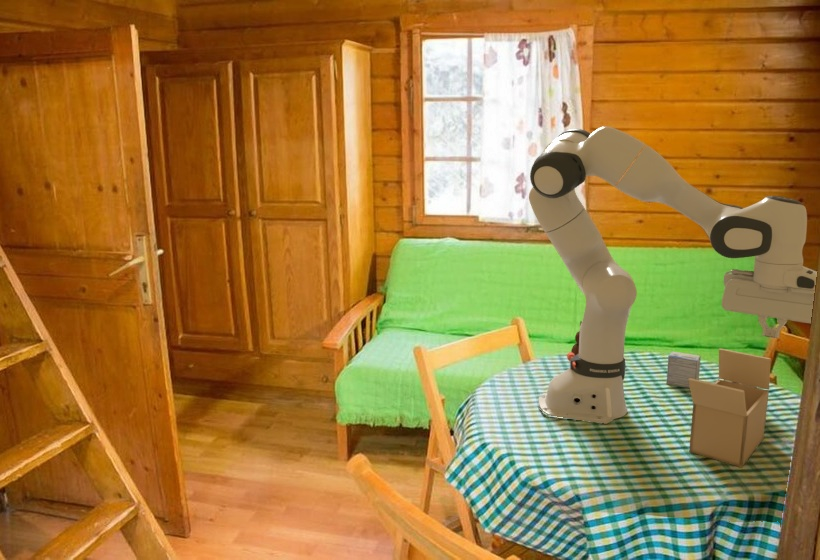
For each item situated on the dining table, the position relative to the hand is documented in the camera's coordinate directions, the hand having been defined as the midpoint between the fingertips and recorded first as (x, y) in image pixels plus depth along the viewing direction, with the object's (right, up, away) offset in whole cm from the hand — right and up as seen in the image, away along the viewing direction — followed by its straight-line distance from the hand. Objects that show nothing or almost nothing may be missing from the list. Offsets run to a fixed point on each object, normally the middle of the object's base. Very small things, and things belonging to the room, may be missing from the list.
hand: (770, 336), depth 139 cm
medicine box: (-1, -18, +44) cm, 47 cm away
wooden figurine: (-25, -15, +59) cm, 65 cm away
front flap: (-13, -12, -2) cm, 18 cm away
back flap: (0, -8, +11) cm, 14 cm away
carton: (-5, -26, +9) cm, 28 cm away
